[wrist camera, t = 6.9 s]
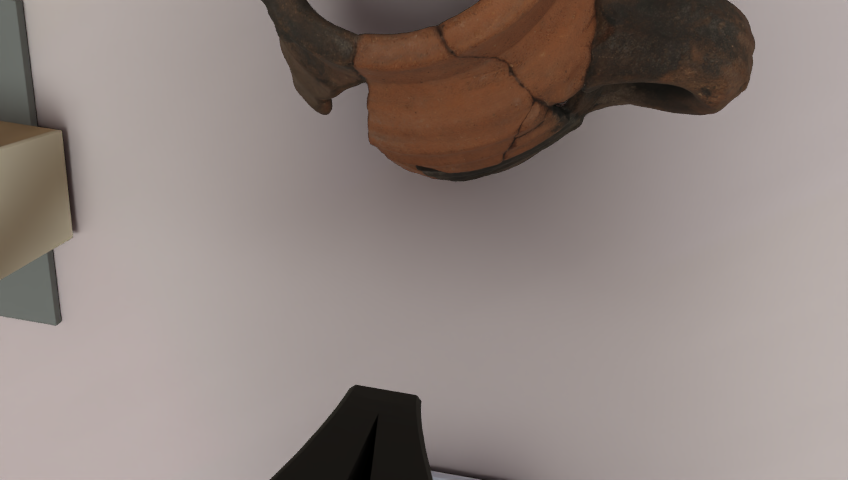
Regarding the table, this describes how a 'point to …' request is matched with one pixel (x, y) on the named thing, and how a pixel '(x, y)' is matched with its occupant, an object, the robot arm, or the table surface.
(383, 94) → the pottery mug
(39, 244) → the walnut block
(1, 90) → the rubber mat
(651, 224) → the table surface
